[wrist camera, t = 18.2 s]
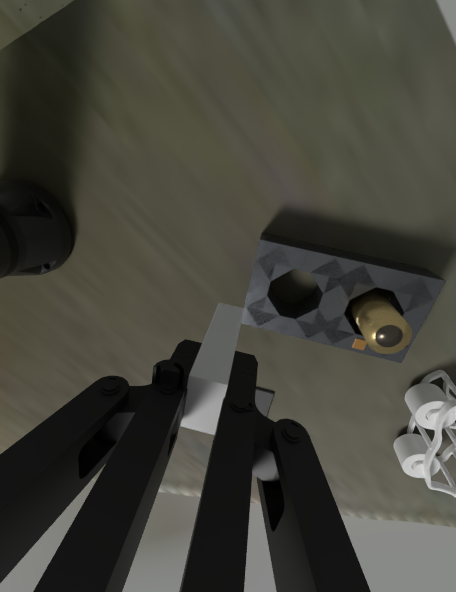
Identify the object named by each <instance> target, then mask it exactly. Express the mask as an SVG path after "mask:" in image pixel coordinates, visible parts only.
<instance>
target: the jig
mask: <svg viewBox="0 0 456 592" xmlns="http://www.w3.org/2000/svg"><path fill="white" fill-rule="evenodd" d="M292 269H299V270H303V271H308V272H311V274H312V276H313V277H314V279H315V281H316V282H317V284H318V285H317V288H316V291H315V294H314V295H312V296H310V297H308V298H306V299H304V300H302V301H301V302H299V303H297V304H295V305H291V304H287V303H283V302H280V301H279V300H278V298H277V296H276V295H275V293H274V292H273V290H272V289H271V287H270V282H271V281H272V280H274V279H276V278H278V277H280V276H281V275H283V274H285V273H287V272H289V271H290V270H292ZM445 282H446V281H445V280H444V279H442V278H440V277H439V276H437V275H436V274H434V273H433V272H431V271H429V270H428V269H424V268H420V267H415V266H411V265H406V264H402V263H397V262H393V261H388V260H383V259H379V258H374V257H370V256H365V255H361V254H356V253H352V252H347V251H343V250H338V249H334V248H329V247H325V246H320V245H315V244H311V243H306V242H302V241H297V240H293V239H288V238H284V237H279V236H275V235H270V234H266V233H262V234H261V237H260V241H259V245H258V249H257V254H256V258H255V262H254V267H253V271H252V275H251V279H250V284H249V288H248V292H247V297H246V301H245V305H244V311H243V315H242V320H241V323H242V324H246V325H250V326H254V327H258V328H262V329H266V330H270V331H274V332H278V333H282V334H286V335H290V336H294V337H298V338H302V339H306V340H310V341H315V342H319V343H323V344H327V345H331V346H335V347H339V348H343V349H347V350H351V351H355V352H359V353H363V354H367V355H371V356H375V357H379V358H383V359H387V360H391V361H395V362H399V363H401V362H402V361H403V359H404V357H405V355H406V353H407V351H408V350H409V348H410V346H411V344H412V342H413V341H414V339H415V337H416V335H417V333H418V331H419V330H420V328H421V326H422V324H423V322H424V320H425V319H426V317H427V315H428V313H429V311H430V309H431V308H432V306H433V304H434V302H435V300H436V298H437V297H438V295H439V293H440V291H441V289H442V287H443V286H444V284H445ZM375 287H378V288H382V289H386V290H387V291H388V293H389V295H390V297H391V300H390V303H391V305H392V306H393V307H394V308H395V309H396V310H397V311H398V313H399V314H400V315H401V316H402V317H403V318H404V320H405V321H406V322H407V323H408V324H409V325H410V327H411V329H412V338H411V341H410V342H409V344H408V345H407V346H406V347H405V348H404V349H402V350H401V351H399V352H396V353H392V354H381V353H378V352H375V351H374V350H372V349H371V348H370V347H369V346H368V344H367V342H366V340H365V338H364V336H363V335H362V333H361V331H360V329H359V327H358V325H357V323H356V321H355V320H354V319H350V318H348V317H347V316H346V314H345V310H346V307H347V305H348V302H349V300H350V299H353V298H355V297H357V296H359V295H361V294H363V293H365V292H367V291H369V290H371V289H373V288H375Z"/></svg>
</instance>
